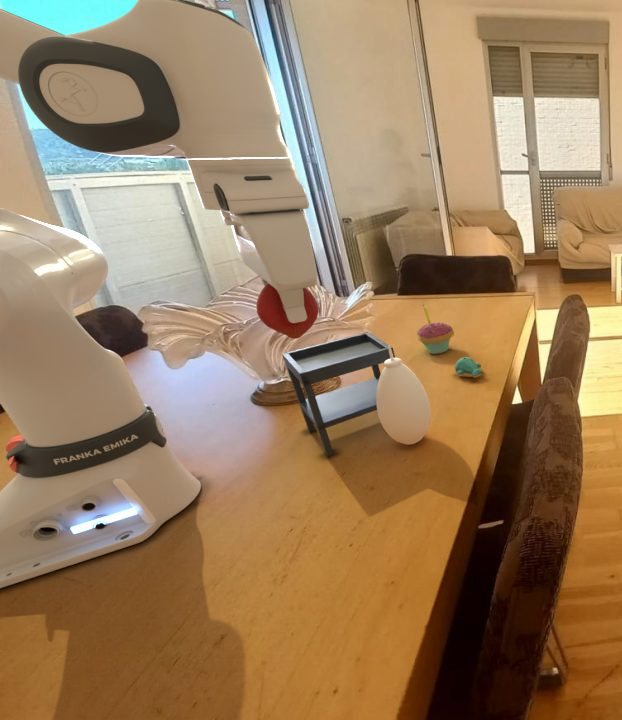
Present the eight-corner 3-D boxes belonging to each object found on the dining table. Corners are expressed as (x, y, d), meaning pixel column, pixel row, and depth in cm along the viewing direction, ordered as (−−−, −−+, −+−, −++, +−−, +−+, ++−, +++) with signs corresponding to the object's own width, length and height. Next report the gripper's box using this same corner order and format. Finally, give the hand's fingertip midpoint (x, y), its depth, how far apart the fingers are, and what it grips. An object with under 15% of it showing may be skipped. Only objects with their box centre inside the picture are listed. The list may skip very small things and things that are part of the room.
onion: (314, 326, 60) (296, 264, 57) (333, 336, 57) (314, 270, 54) (261, 339, 56) (238, 273, 53) (277, 350, 53) (254, 280, 50)
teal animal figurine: (473, 366, 110) (470, 351, 109) (491, 375, 106) (488, 359, 104) (450, 375, 106) (447, 359, 105) (468, 384, 102) (465, 368, 100)
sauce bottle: (416, 425, 87) (395, 333, 79) (445, 436, 83) (425, 340, 76) (378, 446, 80) (350, 349, 73) (407, 459, 77) (381, 358, 70)
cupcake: (413, 355, 118) (403, 308, 113) (435, 342, 125) (426, 299, 120) (443, 358, 115) (433, 311, 111) (463, 345, 123) (455, 300, 118)
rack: (327, 456, 78) (299, 373, 72) (308, 430, 86) (281, 353, 80) (411, 423, 87) (392, 347, 81) (386, 402, 95) (368, 331, 89)
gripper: (202, 187, 55) (242, 302, 60) (228, 195, 41) (277, 342, 47) (266, 184, 59) (299, 293, 64) (310, 190, 45) (346, 327, 51)
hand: (290, 314), depth 55 cm, fingers closed on onion, 6 cm apart
